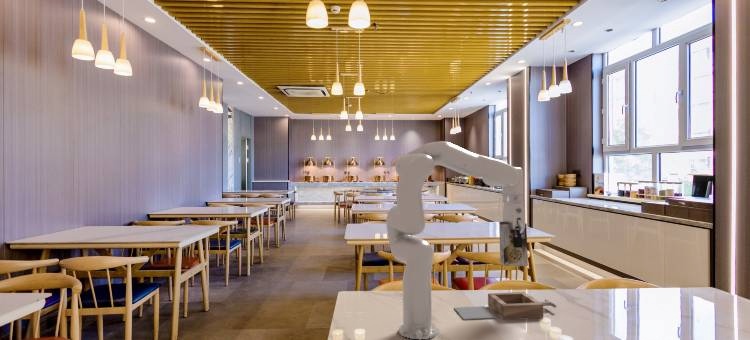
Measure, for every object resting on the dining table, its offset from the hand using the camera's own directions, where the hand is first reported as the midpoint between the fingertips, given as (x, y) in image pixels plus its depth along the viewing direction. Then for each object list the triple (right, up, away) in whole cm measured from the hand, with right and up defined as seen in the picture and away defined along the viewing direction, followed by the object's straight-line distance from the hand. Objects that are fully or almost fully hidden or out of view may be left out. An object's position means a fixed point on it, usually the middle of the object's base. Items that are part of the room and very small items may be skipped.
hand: (513, 245), depth 152 cm
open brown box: (+4, -25, 0) cm, 26 cm away
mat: (-15, -26, -2) cm, 30 cm away
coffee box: (0, -8, 0) cm, 8 cm away
